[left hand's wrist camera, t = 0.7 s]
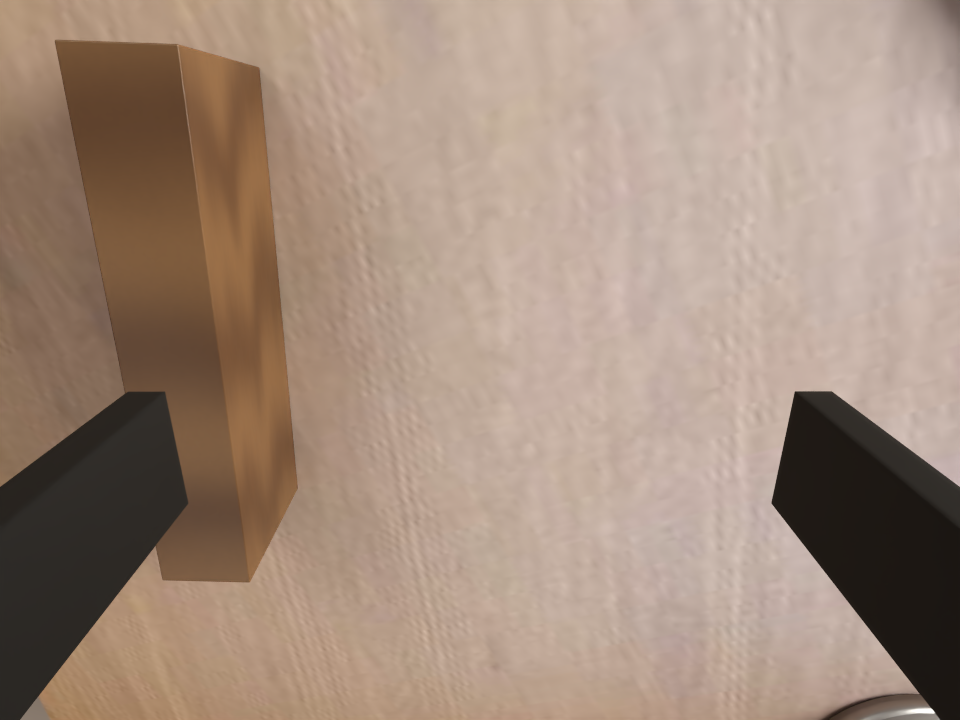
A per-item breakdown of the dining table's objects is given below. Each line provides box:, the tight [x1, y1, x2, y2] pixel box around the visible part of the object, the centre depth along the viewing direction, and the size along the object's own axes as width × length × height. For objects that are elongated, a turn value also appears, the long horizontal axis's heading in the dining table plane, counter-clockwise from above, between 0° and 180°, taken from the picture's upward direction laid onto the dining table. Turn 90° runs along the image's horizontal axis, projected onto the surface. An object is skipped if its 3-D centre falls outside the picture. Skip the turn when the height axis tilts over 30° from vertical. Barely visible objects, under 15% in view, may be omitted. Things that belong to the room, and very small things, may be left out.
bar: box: [55, 40, 297, 582], centre depth 31 cm, size 25×5×9 cm, turn 178°
